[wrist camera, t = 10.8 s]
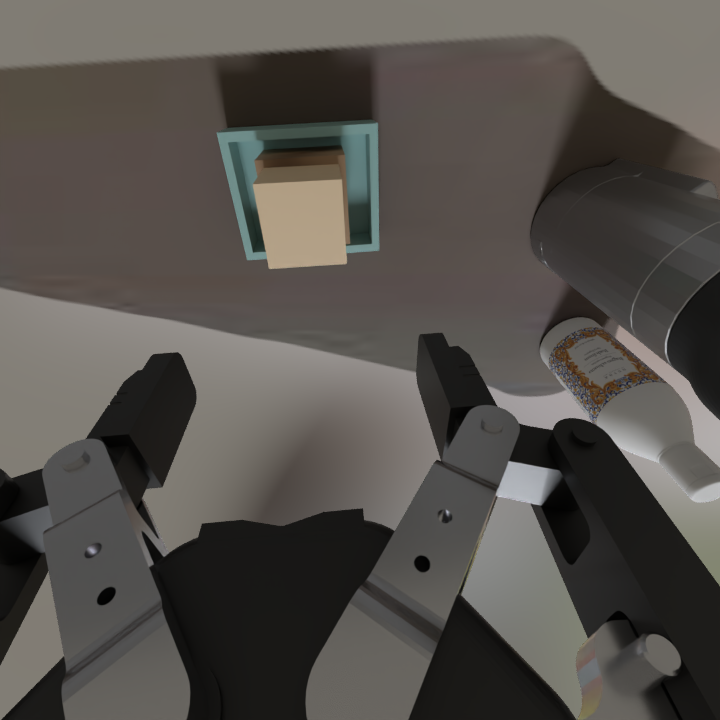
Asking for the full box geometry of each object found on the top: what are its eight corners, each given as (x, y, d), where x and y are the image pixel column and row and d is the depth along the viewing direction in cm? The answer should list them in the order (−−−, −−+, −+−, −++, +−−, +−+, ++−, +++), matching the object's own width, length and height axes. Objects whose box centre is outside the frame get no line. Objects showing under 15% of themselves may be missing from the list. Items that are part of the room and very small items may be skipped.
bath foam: (592, 304, 40) (772, 449, 24) (601, 346, 44) (762, 496, 28) (531, 334, 42) (661, 488, 26) (545, 372, 45) (665, 527, 30)
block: (341, 144, 28) (344, 154, 24) (346, 224, 32) (350, 243, 28) (263, 149, 28) (254, 160, 24) (277, 228, 32) (271, 249, 28)
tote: (372, 119, 28) (377, 123, 25) (374, 236, 33) (379, 250, 30) (227, 127, 27) (216, 132, 25) (253, 245, 33) (247, 260, 30)
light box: (338, 164, 24) (341, 179, 21) (342, 237, 28) (346, 263, 24) (263, 168, 24) (252, 184, 20) (276, 242, 27) (269, 268, 23)
